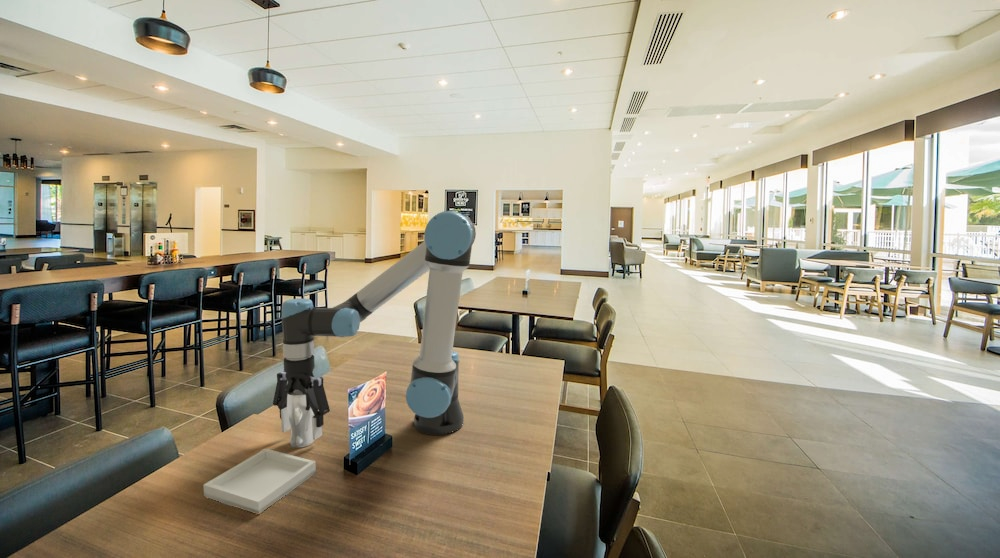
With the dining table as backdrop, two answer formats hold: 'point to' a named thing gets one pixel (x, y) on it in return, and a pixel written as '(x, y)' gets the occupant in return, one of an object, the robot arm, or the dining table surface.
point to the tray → (260, 480)
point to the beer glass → (299, 419)
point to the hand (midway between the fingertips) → (301, 433)
